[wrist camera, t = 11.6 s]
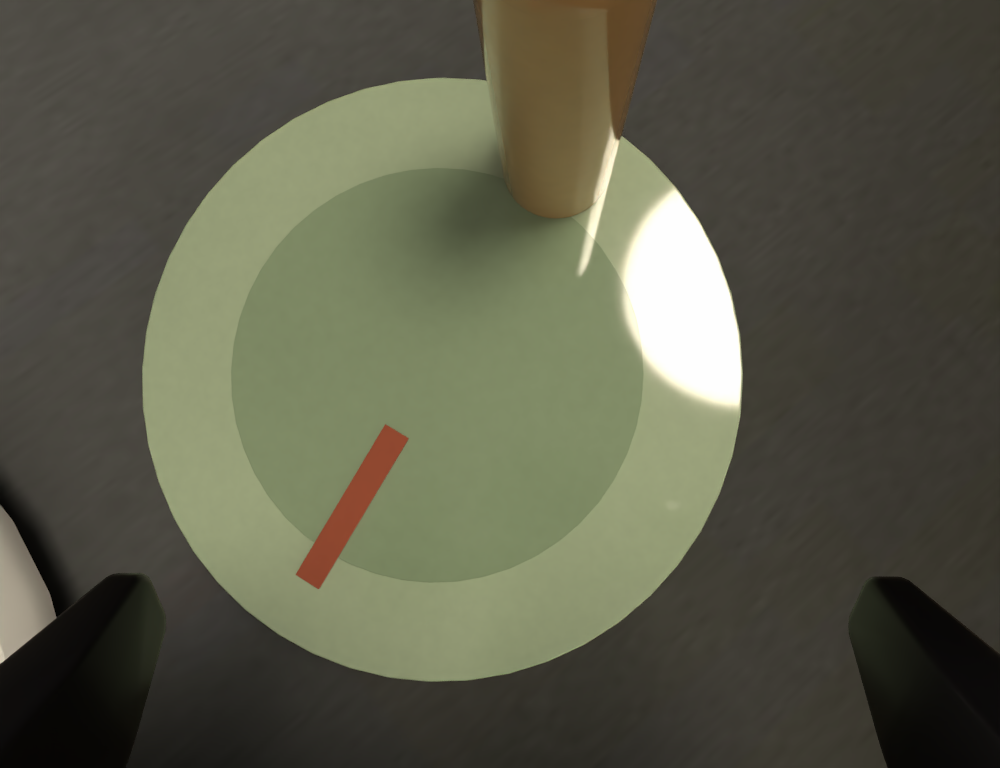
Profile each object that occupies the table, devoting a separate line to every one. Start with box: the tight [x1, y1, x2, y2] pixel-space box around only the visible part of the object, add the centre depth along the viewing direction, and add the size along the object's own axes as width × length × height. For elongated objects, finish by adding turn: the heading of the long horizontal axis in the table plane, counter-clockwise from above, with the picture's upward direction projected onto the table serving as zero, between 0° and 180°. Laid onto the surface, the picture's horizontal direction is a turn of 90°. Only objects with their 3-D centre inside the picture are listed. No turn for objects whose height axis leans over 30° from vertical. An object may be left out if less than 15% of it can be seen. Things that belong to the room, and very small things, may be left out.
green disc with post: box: [142, 0, 743, 682], centre depth 15 cm, size 18×18×13 cm
